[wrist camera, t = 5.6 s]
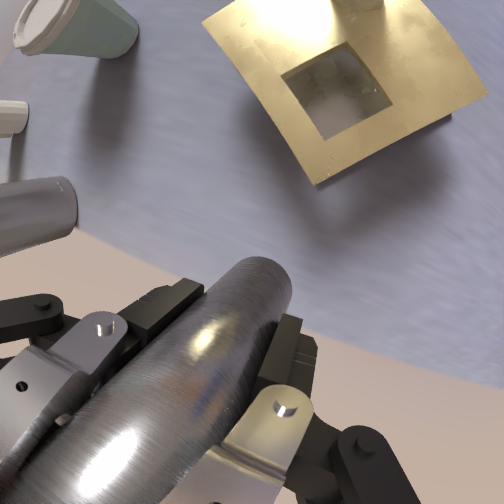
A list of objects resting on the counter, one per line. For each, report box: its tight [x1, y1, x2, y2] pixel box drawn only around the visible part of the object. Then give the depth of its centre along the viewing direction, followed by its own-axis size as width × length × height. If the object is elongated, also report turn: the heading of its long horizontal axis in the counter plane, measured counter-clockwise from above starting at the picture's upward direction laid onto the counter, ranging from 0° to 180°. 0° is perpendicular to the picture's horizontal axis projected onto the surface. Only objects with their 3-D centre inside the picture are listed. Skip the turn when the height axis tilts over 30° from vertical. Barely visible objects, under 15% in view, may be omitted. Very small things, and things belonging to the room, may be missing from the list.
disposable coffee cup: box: [13, 0, 139, 59], centre depth 20 cm, size 11×11×15 cm
